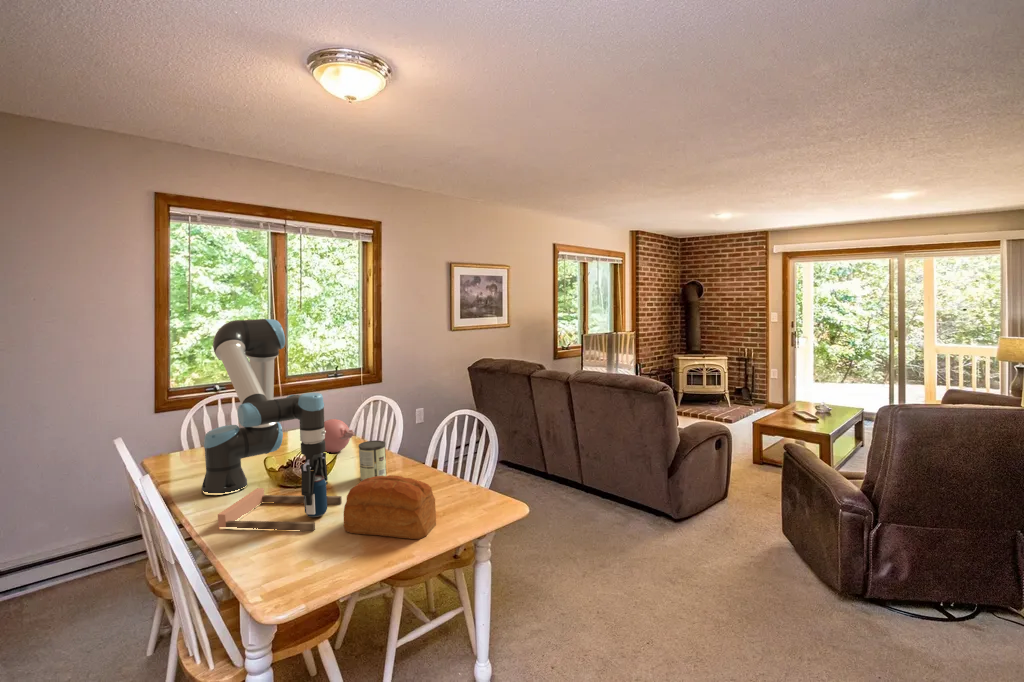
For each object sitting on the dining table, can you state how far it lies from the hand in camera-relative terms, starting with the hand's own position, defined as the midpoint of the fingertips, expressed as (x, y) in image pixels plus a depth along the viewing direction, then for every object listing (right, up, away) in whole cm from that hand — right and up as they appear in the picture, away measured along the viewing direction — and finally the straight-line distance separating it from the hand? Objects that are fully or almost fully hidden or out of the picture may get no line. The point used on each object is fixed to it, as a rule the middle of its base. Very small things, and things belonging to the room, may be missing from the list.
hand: (316, 509), depth 173 cm
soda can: (0, -2, 0) cm, 2 cm away
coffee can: (+10, +1, +35) cm, 37 cm away
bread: (+27, -3, -9) cm, 28 cm away
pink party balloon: (-17, +3, +71) cm, 73 cm away
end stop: (-25, -3, +2) cm, 25 cm away
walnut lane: (-10, -2, +1) cm, 10 cm away
